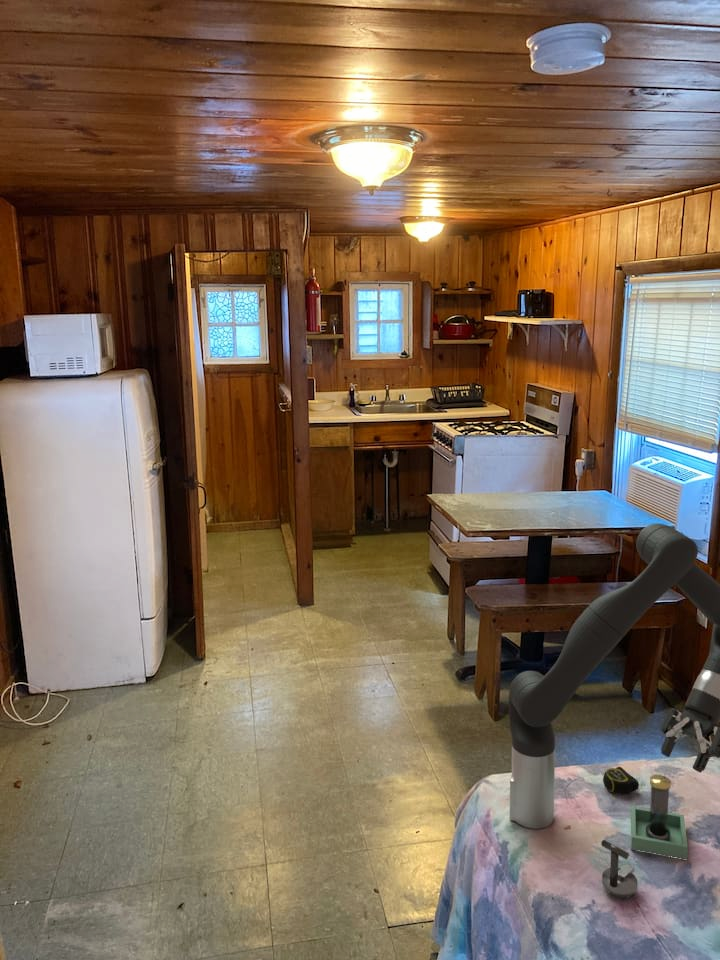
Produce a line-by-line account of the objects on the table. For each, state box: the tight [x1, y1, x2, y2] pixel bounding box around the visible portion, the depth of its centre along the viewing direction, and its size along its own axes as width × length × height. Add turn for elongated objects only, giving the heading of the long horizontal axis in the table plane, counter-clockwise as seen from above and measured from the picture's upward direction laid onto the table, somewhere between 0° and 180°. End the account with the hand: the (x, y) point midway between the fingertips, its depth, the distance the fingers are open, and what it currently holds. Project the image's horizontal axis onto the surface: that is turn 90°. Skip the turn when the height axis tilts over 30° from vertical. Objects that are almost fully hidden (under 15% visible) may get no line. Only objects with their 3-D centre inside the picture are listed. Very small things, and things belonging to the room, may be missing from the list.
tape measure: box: [602, 766, 640, 796], centre depth 173 cm, size 7×7×4 cm
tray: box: [630, 806, 688, 860], centre depth 156 cm, size 11×11×3 cm
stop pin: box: [646, 774, 672, 841], centre depth 155 cm, size 5×5×13 cm
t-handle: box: [600, 839, 639, 900], centre depth 141 cm, size 7×6×11 cm
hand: (680, 762), depth 161 cm, fingers open, 8 cm apart
